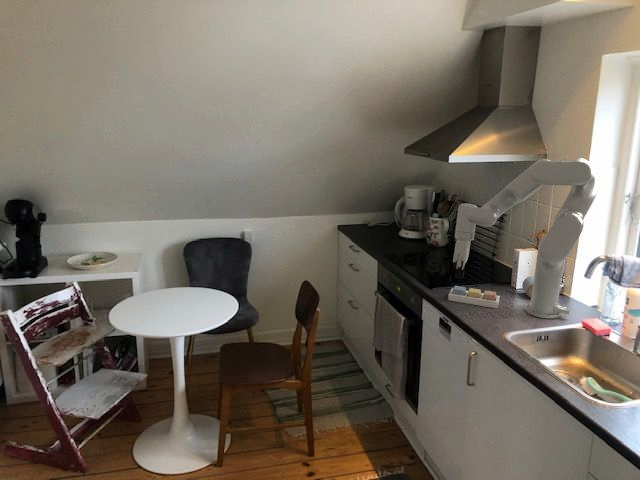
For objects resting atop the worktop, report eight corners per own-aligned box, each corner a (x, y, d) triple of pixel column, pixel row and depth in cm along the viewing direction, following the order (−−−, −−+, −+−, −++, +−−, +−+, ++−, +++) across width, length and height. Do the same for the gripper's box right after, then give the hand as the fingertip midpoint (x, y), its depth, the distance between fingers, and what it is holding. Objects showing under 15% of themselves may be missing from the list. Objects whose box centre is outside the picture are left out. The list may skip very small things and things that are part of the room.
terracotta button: (495, 299, 205) (496, 292, 205) (494, 302, 202) (495, 295, 201) (484, 297, 207) (485, 290, 206) (482, 300, 203) (483, 293, 202)
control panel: (499, 301, 207) (499, 296, 206) (497, 308, 200) (498, 302, 199) (451, 293, 214) (451, 288, 214) (447, 300, 207) (448, 294, 206)
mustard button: (480, 296, 208) (480, 289, 207) (478, 300, 204) (479, 293, 203) (469, 294, 209) (469, 288, 209) (467, 298, 206) (468, 291, 205)
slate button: (465, 294, 210) (465, 287, 209) (463, 297, 206) (464, 290, 205) (454, 292, 212) (455, 285, 211) (452, 295, 208) (453, 288, 207)
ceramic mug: (525, 299, 210) (528, 281, 208) (520, 292, 218) (523, 275, 216) (552, 301, 209) (555, 284, 207) (546, 294, 217) (549, 277, 215)
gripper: (458, 229, 210) (452, 271, 215) (452, 237, 197) (446, 281, 202) (476, 232, 208) (470, 274, 213) (471, 240, 194) (465, 285, 199)
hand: (459, 277), depth 207 cm, fingers closed
